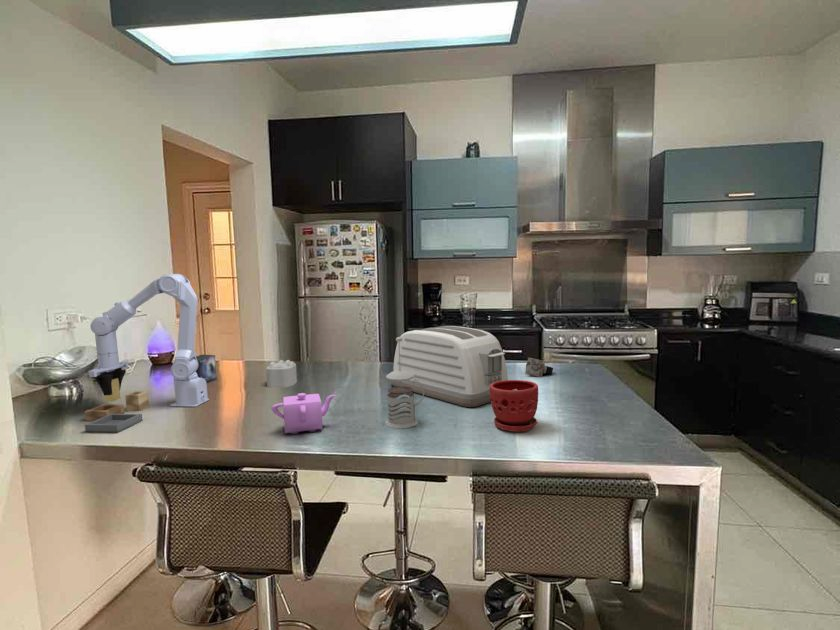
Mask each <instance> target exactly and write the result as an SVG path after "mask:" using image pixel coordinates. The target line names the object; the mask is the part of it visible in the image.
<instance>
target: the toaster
mask: <svg viewBox="0 0 840 630" xmlns="http://www.w3.org/2000/svg"><path fill="white" fill-rule="evenodd" d="M399 337H401V338H402V341H400V365H399V341H397V344H396V348H395V353H394V358H393V371H396V370H406V371H408V372H411V373H412V374H414V377H413V378H412V379H410V380H404V381H401V386H402V387H411V388H412V389H413V391H412V393H414V394H415V393H416V394H420V395H422V396H423V390H422V388H421V386H420V385H421V384H422V386H423V388H424V396H426V397H430V398H433V399H435V400H436V399H437V400H441V401H444V402H446V403H447V402H448V403H451V404H454V405H458V406H460V407H465V408H475V407H479V406H482V405H486V404H488V403H491V399H490V385H491V384H492V383H495V382H498V381H505V380H509V378H508V377H509V376H508V368H507V367H508V366H507V364H506V359H505V358H506V357H505V356H504V355H505V354H506V352H504V351H503V348H502V346H501V344H500V341H499V340H498V339H497V337H496V336H494V335H493V334H492V333H491V332H488V331H487V330H486V331H485V330H483V329H478V328H471V327H467V326H466V327H465V326H457V325H441V326H435V327H427V328H423V329H414V330H410V331H409V330H408V331H406V332H404V333H402V334H401V335H400V336H399ZM393 371H392V372H393ZM413 380H417V381H416V382H418V381H419V382H420V383H421V384H420V383H419V382H418V383H419V384H420V385H419V384H418V383H416V382H414V385H413ZM389 381H390V384H391V385H392V387H396V386H400V381H393V380H389Z"/></svg>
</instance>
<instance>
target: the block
mask: <svg viewBox="0 0 840 630" xmlns="http://www.w3.org/2000/svg"><path fill="white" fill-rule="evenodd" d="M124 397H125V406H126V412H127V411H140V412H142V411H144V410H143V409H145V410H147V409H149V408H150V403H149V402H150V399H149V392H148V391H142V390H141V391H140V390H139V391H136V390H135V391H132V392H130V393H128V394H125V396H124ZM148 407H149V408H148ZM146 408H147V409H146ZM141 410H142V411H141Z"/></svg>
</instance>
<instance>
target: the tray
mask: <svg viewBox="0 0 840 630" xmlns="http://www.w3.org/2000/svg"><path fill="white" fill-rule="evenodd" d="M143 419H144V418H143V414H142V413H124V414H110V415H107V416H105V417H103V418H100V419H98V420H95V421H90V422H89V423H85V424H84V431H85V433H99V434H100V433H101V434H103V433H104V434H119V433H120V432H123V431H125V430H128V429H129V428H131V427H134V426H136V425H137V423H138V424H139V422H140V423H141V421H142V422H143V421H144V420H143ZM135 424H136V425H135Z"/></svg>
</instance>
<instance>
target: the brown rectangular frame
mask: <svg viewBox="0 0 840 630" xmlns="http://www.w3.org/2000/svg"><path fill="white" fill-rule="evenodd" d="M124 405H125V404H119V403H118V404H115V403H114V404H113V403H111V404H109V403H105V404H104V403H102V404H100V405H98V406H95V407H92V408H90V409H87V410H84V418H85V419H84V420H85V422H93V421H95V420H98V419H100V418H103V417H105V416H107V415H110V414H125V408H124V407H125V406H124Z"/></svg>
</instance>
